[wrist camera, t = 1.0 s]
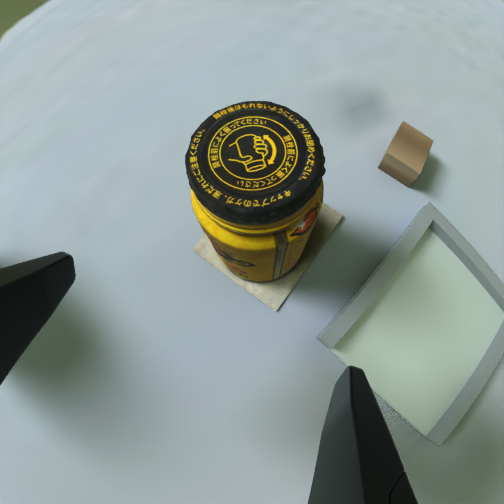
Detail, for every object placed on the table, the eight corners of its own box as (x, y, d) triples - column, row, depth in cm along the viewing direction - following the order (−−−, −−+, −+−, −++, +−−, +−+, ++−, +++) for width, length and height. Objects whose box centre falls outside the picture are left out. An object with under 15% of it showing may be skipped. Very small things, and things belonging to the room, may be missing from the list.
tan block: (408, 187, 23) (420, 174, 21) (377, 167, 24) (387, 152, 21) (422, 154, 24) (433, 140, 22) (393, 136, 24) (403, 120, 22)
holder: (428, 440, 18) (439, 446, 16) (315, 337, 21) (320, 338, 19) (511, 313, 20) (524, 311, 18) (419, 210, 23) (429, 201, 21)
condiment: (192, 250, 23) (126, 171, 11) (262, 164, 24) (259, 44, 12) (275, 311, 21) (290, 289, 10) (342, 216, 23) (402, 118, 11)
